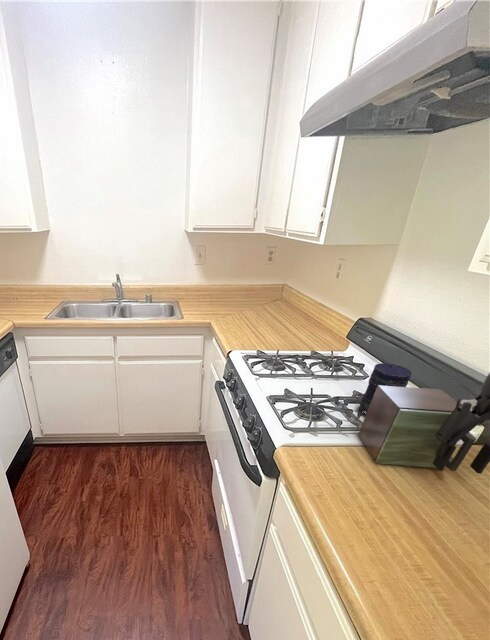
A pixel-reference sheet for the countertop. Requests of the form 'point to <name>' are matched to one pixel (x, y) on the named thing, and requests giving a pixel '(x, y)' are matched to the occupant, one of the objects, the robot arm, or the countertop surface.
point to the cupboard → (388, 406)
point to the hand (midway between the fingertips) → (456, 468)
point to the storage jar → (383, 381)
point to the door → (419, 440)
